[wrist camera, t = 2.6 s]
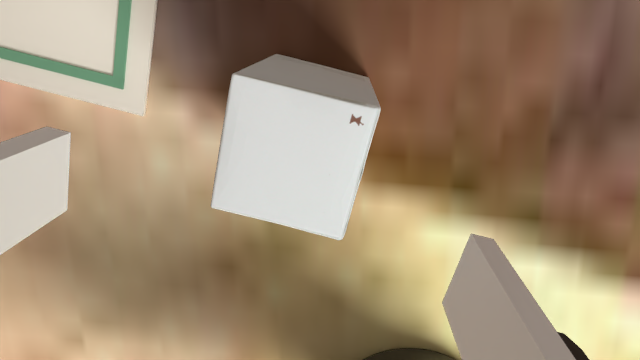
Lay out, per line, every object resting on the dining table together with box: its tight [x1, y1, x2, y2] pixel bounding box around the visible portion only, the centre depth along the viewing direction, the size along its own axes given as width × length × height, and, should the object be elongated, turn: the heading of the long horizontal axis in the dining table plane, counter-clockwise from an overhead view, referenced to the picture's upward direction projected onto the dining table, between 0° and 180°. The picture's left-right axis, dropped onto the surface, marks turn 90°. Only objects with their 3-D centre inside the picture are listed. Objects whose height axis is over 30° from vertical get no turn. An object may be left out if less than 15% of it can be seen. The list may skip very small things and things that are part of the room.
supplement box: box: [211, 54, 381, 240], centre depth 27 cm, size 7×7×13 cm
